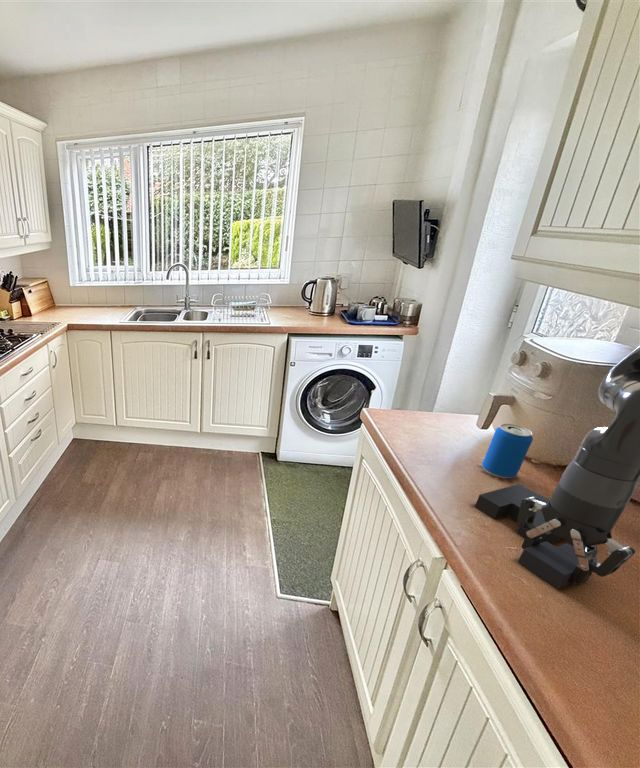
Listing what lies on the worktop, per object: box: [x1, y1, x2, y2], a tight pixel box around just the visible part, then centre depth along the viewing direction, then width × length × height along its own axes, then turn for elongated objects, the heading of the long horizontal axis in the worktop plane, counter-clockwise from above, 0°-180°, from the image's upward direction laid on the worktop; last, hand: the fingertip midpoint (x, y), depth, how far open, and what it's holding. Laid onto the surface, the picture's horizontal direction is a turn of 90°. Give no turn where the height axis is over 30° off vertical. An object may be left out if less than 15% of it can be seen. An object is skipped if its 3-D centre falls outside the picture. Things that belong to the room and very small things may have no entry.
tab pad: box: [517, 541, 579, 590], centre depth 71 cm, size 9×6×3 cm, turn 107°
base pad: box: [474, 483, 563, 544], centre depth 83 cm, size 12×12×3 cm
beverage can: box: [481, 423, 534, 479], centre depth 95 cm, size 6×6×12 cm
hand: (550, 566), depth 71 cm, fingers closed on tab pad, 6 cm apart
